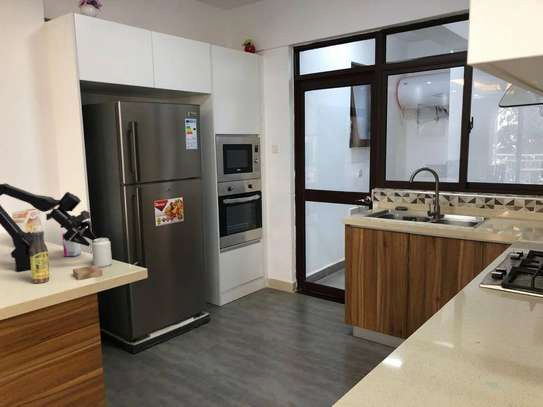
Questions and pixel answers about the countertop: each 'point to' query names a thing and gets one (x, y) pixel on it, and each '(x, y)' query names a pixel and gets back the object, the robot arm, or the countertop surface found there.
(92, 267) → the walnut plinth
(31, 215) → the coffeecake box
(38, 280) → the sauce bottle
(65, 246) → the supplement box
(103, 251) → the can
